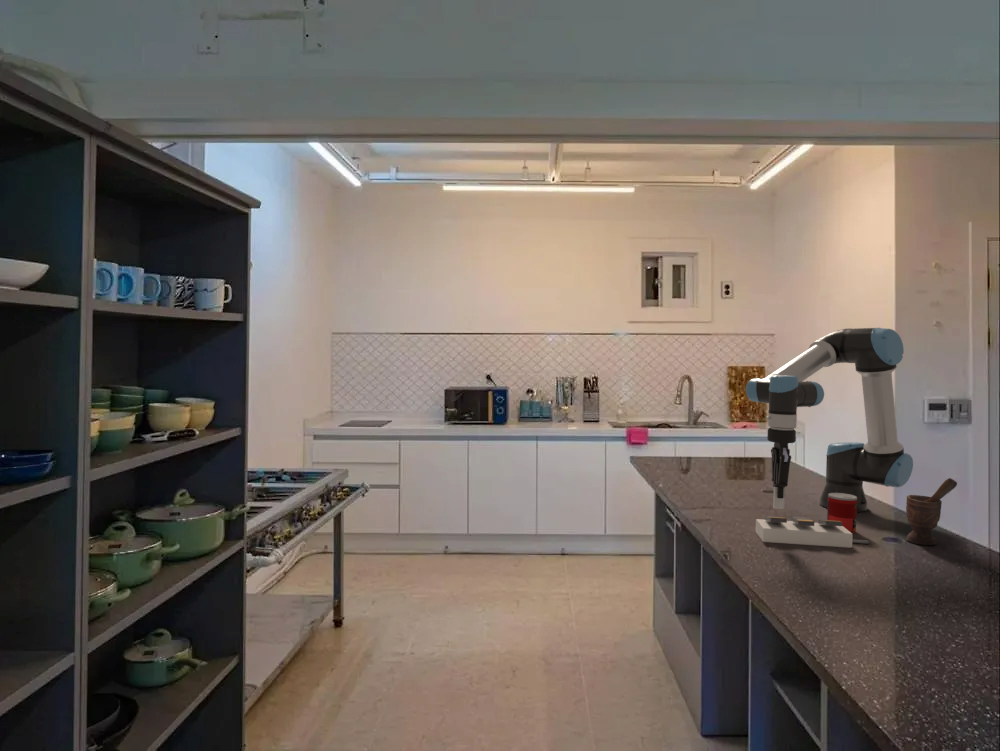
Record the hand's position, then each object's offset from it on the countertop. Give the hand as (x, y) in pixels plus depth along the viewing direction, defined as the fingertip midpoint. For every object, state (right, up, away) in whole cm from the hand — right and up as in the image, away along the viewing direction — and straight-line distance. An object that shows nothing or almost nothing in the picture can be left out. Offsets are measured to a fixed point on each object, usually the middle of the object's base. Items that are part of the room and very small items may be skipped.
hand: (778, 508), depth 186 cm
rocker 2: (+15, -4, 0) cm, 16 cm away
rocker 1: (+1, -4, +3) cm, 5 cm away
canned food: (+25, -10, +12) cm, 29 cm away
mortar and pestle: (+44, -11, +1) cm, 45 cm away
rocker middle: (+8, -4, +2) cm, 9 cm away
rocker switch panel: (+11, -10, +1) cm, 15 cm away
